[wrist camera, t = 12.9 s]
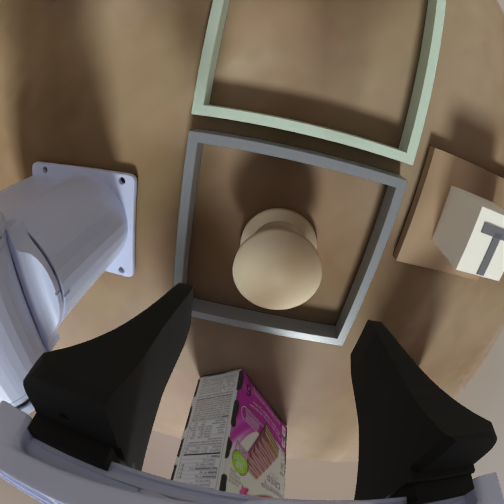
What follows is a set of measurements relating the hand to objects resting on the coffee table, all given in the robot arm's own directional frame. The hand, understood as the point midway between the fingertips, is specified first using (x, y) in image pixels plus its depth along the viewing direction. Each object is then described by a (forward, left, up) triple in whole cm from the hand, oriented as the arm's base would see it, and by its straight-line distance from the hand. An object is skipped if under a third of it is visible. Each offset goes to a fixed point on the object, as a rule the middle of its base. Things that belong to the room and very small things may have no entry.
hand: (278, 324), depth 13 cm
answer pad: (+12, +4, -9) cm, 16 cm away
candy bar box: (+1, -19, -10) cm, 21 cm away
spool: (0, -1, -10) cm, 10 cm away
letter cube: (+12, +4, -9) cm, 15 cm away
